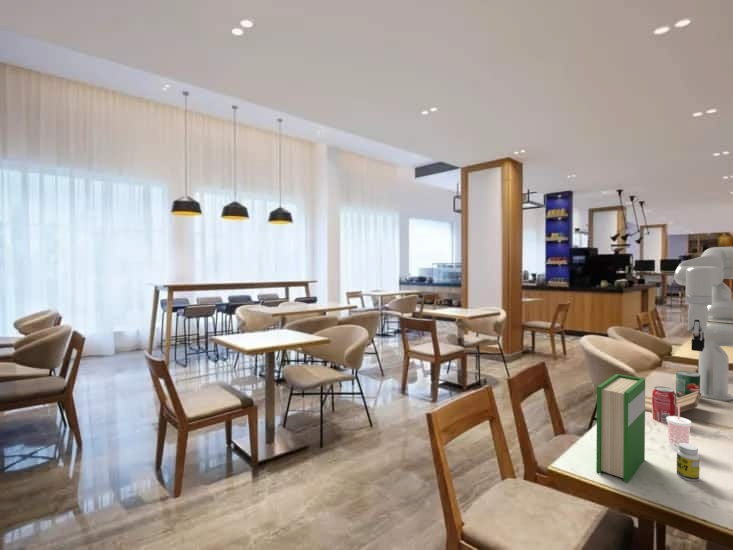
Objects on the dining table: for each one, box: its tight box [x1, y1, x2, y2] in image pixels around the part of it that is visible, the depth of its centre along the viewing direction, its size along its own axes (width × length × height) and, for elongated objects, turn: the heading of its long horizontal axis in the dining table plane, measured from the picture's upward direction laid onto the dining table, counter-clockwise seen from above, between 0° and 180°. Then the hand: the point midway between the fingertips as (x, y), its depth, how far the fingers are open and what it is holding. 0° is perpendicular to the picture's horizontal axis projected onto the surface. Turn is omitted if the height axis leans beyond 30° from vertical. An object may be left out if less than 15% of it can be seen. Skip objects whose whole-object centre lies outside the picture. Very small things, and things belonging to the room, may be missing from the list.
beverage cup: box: [666, 403, 692, 451], centre depth 122 cm, size 6×6×14 cm
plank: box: [676, 391, 702, 415], centre depth 150 cm, size 18×10×2 cm
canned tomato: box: [675, 370, 700, 398], centre depth 165 cm, size 8×8×11 cm
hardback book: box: [595, 373, 646, 484], centre depth 112 cm, size 18×7×24 cm, turn 133°
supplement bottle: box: [676, 443, 701, 482], centre depth 106 cm, size 5×5×8 cm
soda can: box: [651, 385, 677, 424], centre depth 143 cm, size 7×7×12 cm
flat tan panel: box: [645, 395, 652, 413], centre depth 157 cm, size 18×10×2 cm, turn 136°
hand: (697, 349), depth 146 cm, fingers open, 4 cm apart
